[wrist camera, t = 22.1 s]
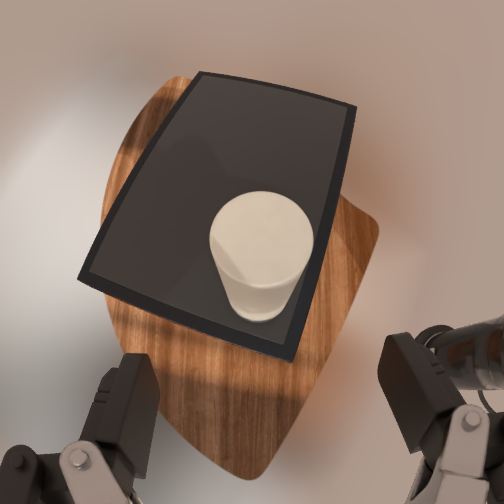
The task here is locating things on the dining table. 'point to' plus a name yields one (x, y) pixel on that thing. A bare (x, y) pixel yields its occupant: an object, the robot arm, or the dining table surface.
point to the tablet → (221, 203)
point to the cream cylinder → (260, 252)
